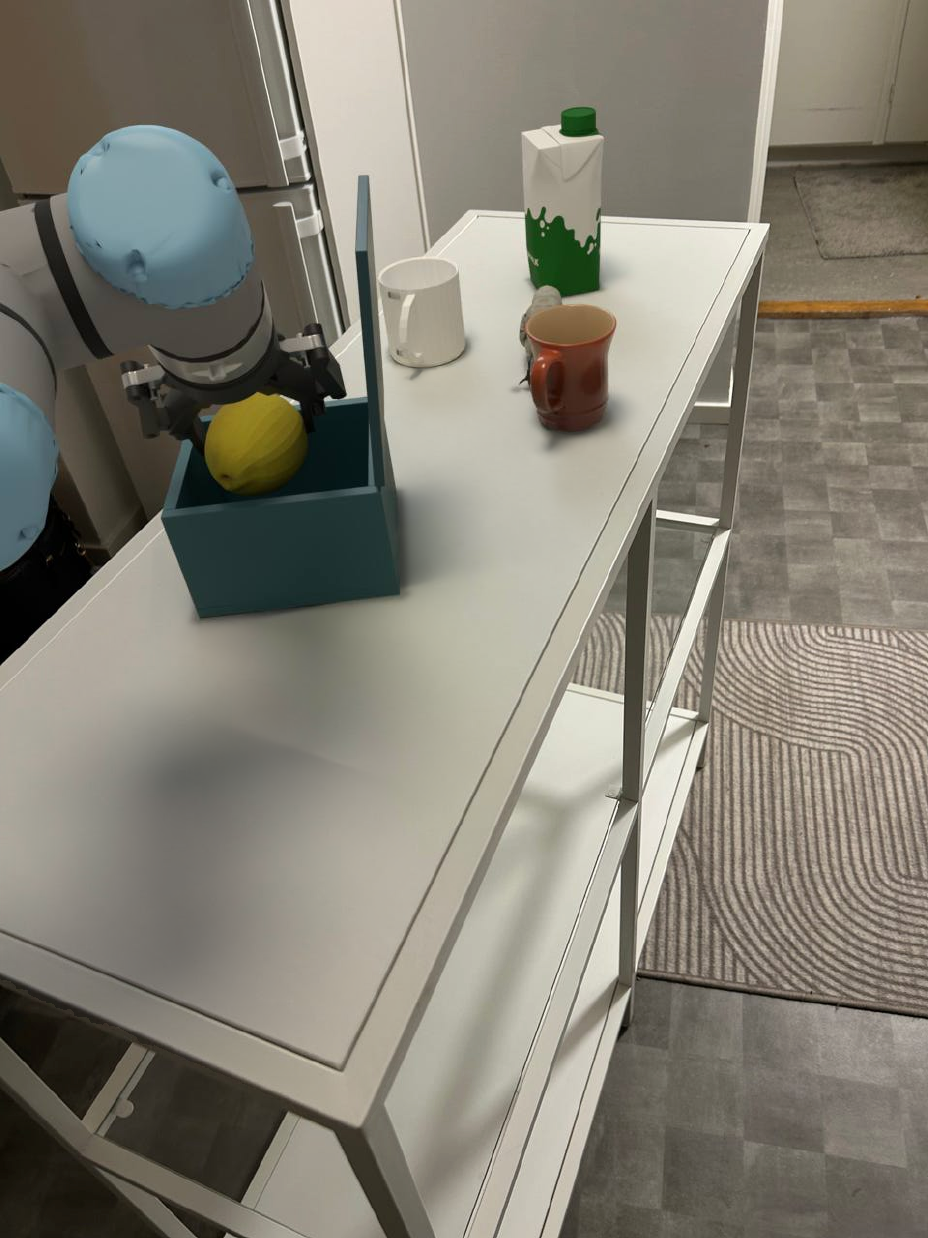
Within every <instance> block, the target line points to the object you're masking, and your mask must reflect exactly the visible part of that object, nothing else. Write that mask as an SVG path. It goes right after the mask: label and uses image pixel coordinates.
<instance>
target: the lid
mask: <svg viewBox="0 0 928 1238" xmlns="http://www.w3.org/2000/svg"><path fill="white" fill-rule="evenodd" d="M370 185H371V184H370V175H369V174H361V175H358V176H357V198H356V218H355V219H356V221H355V245H354V255H355V257H354V258H355V266H356V267H355V268H356V278H357V279H356V280H357V291H358V303H359V317H360V328H361V338H362V351H363V362H364V363H363V364H364V365H363V366H364V376H365V387H366V397H367V400H368V412H369V424H370V436H371V448H372V460H373V472H374V484H375V487H381V486H385V433H384V420H385V385H384V371H383V357H382V356H383V355H382V343H381V329H380V327H381V326H380V313H379V300H378V299H379V298H378V287H377V286H378V285H377V272H376V259H375V257H376V256H375V255H376V254H375V244H374V243H375V241H374V228H373V227H374V226H373V214H372V213H373V212H372V200H371V199H372V198H371V187H370Z"/></svg>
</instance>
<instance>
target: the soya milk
mask: <svg viewBox="0 0 928 1238" xmlns="http://www.w3.org/2000/svg"><path fill="white" fill-rule="evenodd" d="M596 110H597V109H596V108H593V107H590V106H576V107H575V106H573V107H570V108H566V109H564V110H562V111H561V113H560V124H556V125H546V126H545V125H544V126H542V127H540V128H538V129H531V130H526V131H521V132H520V135H521V136H520V137H521V138H520V139H521V158H522V161H521V162H522V185H523V206H524V207H523V208H524V229H525V231H524V232H525V248H526V249H525V250H526V256H527V263H528V271H529V277H530V278H529V279H530V280H531V282H532V283H533V284H534V286H535V287H536V288H537V290H538V289H539V288H541V287H543V286H546V285H547V286H551V287H554V288H556V289H557V290H558V291H559V293H560V296H561V298H562V297H563V298H564V297H568V296H573V295H578V294H583V293H588V292H589V293H590V292H594V291H598V290H600V277H601V276H600V274H601V246H602V245H601V239H602V237H601V236H602V235H601V232H602V230H601V229H602V226H601V225H602V166H603V155H604V146H605V137H604V136H603V135H602V133H600V132H599V129H598V128H597V111H596Z"/></svg>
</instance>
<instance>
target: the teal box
mask: <svg viewBox="0 0 928 1238" xmlns="http://www.w3.org/2000/svg"><path fill="white" fill-rule="evenodd" d="M324 402H325V406H326V410H327V413H325V414H323V415H320V416H312V417H313V422H314V427H315V432H313V433H308V434H307V437H308V449H307V454H306V457H305V460H304V462H303V465H302V467H301V468H300V470H299V471H298V472H297V474H296V475H295V477H294V478H293V479H292V480H291V481H290V482H289V483H288V484H286V485H285V486H283V487H282V488H280V489H279V490H277V491H275V492H273V493H269V494H266V495H261V496H243V495H239V494H236V493H233V492H231V491H229V490H226V489H224V488H223V486H222V485H221V484H220V483H218V482H217V481H216V480H215V479H214V477H213V476H212V475H211V473H210V470H209V468H208V466H207V463H206V461H205V455H204V456H201V455H200V453H199V452H198V451H197V449H196V448H195V447H194V445H193V444H192V442H191V441H190V440H189V439H187V440H182V441H181V446H180V449H179V452H178V456H177V459H176V463H175V466H174V469H173V473H172V477H171V480H170V484H169V487H168V490H167V493H166V497H165V501H164V504H163V508H162V511H161V516H160V520H161V523H162V526H163V528H164V531H165V533H166V536H167V538H168V542H169V544H170V546H171V549H172V552H173V554H174V556H175V559H176V561H177V564H178V566H179V570H180V572H181V574H182V577H183V580H184V582H185V584H186V587H187V590H188V593H189V594H190V597H191V600H192V602H193V605H194V608H195V610H196V612H197V615H198V618H199V619H202V618H203V619H205V618H212V617H221V616H229V615H230V616H231V615H237V614H245V613H255V612H264V611H271V610H281V609H289V608H297V607H307V606H315V605H323V604H331V603H340V602H341V603H342V602H348V601H359V600H366V599H375V598H385V597H391V596H399V595H400V594H401V591H400V590H401V588H400V587H401V586H400V553H399V552H400V551H399V548H400V547H399V519H398V491H397V486H396V479H395V473H394V466H393V461H392V456H391V450H390V445H389V444H390V443H389V439H388V438H389V437H388V432H387V426H386V421H385V419H384V433H385V486H381V487H375V484H374V472H373V460H372V448H371V436H370V424H369V412H368V400H367V396H361V397H359V396H358V397H352V398H343V399H339V400H337V399H333V400H326V401H325V400H324ZM292 405H293V404H292ZM293 406H294V407H295V408H296V409H297V411H298V412H299V413H300V415H301V416H302V412H301V408H300V404H294V405H293ZM215 415H216V414H208V415H198V416H199V417H200V419H201V421H202V422H203V425H204V429H205V433H206V435H207V431H208V428H209V425H210V423H211V421H212V419H213V418H214V416H215ZM302 418H303V416H302Z"/></svg>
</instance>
